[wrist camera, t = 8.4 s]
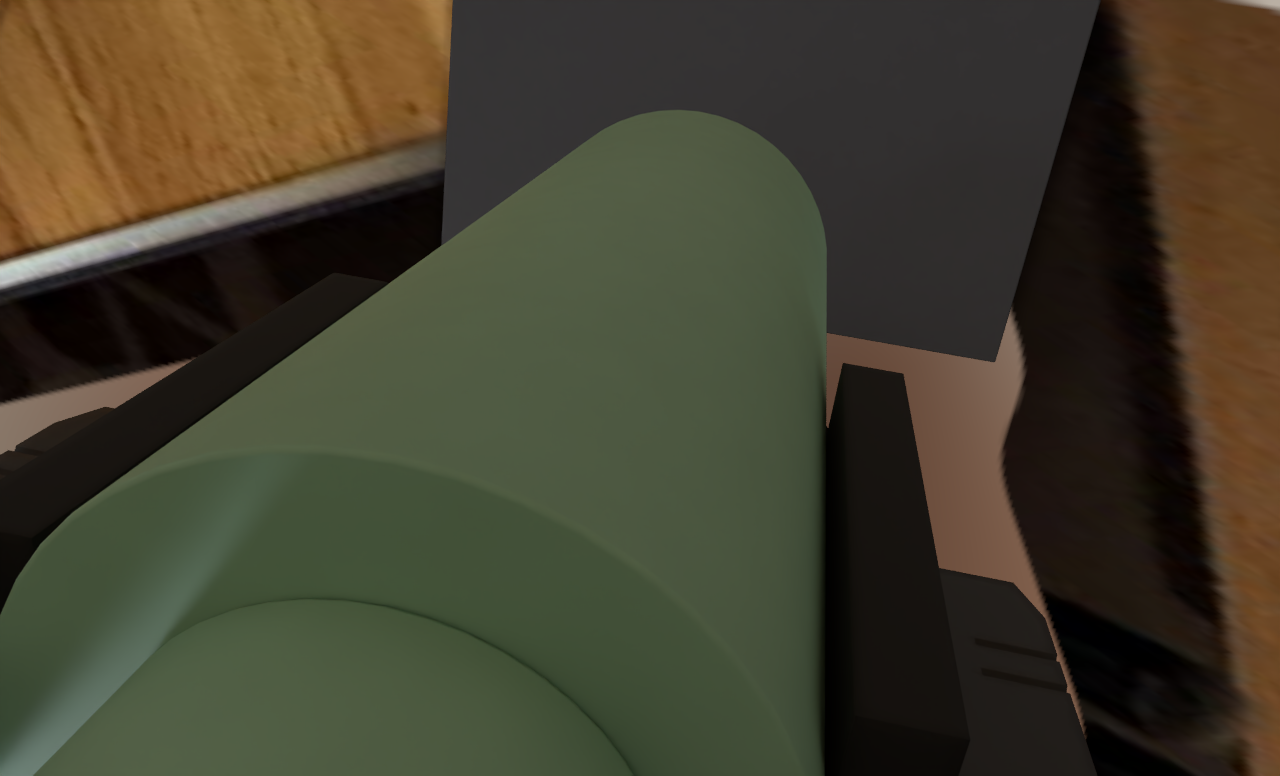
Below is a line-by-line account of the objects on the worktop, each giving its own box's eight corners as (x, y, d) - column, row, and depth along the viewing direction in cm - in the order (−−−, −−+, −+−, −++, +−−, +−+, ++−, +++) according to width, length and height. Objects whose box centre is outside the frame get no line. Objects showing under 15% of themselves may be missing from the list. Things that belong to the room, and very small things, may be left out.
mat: (1099, -9, 30) (1103, -9, 30) (993, 357, 35) (995, 363, 35) (461, -96, 32) (456, -97, 32) (444, 261, 37) (440, 264, 37)
